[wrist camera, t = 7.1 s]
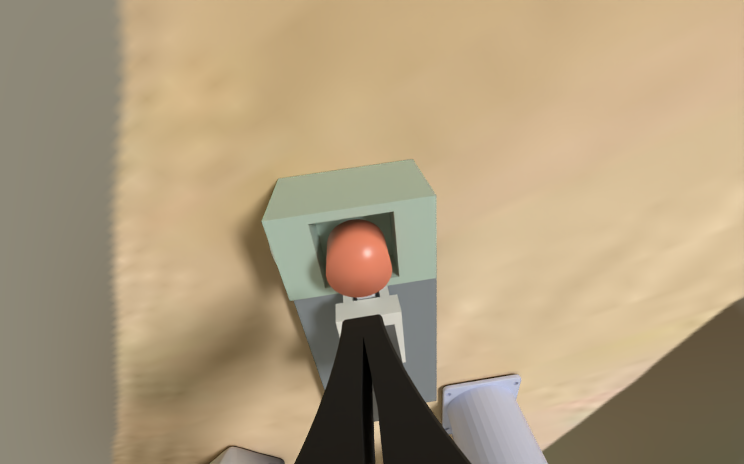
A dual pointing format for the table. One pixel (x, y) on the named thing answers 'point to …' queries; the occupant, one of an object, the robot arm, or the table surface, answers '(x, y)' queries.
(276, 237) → the end cabinet
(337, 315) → the carriage
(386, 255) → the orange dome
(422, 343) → the rail board
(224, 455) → the juice carton
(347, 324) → the robot arm
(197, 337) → the table surface
